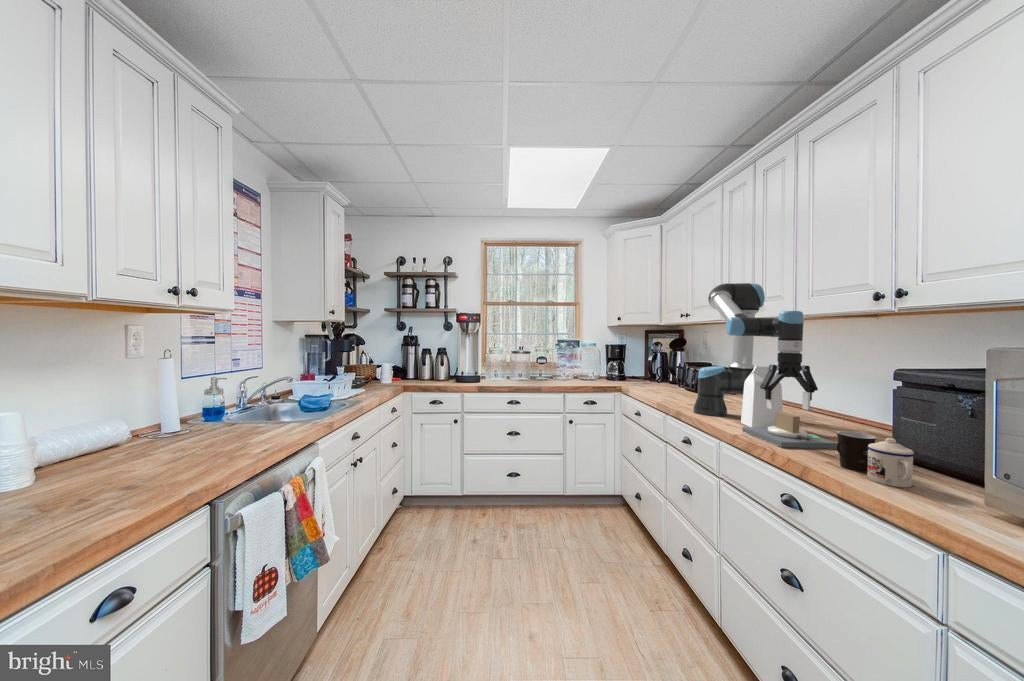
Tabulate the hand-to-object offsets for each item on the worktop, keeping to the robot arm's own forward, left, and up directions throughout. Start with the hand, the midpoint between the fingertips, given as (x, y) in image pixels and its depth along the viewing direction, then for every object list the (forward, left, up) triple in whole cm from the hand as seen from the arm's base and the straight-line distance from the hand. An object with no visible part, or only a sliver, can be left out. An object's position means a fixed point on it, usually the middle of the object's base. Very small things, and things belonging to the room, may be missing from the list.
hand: (788, 409), depth 146 cm
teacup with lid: (+43, -3, -12) cm, 44 cm away
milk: (-22, +5, -12) cm, 26 cm away
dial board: (0, 0, -12) cm, 12 cm away
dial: (+2, 0, -10) cm, 10 cm away
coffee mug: (+31, -4, -12) cm, 33 cm away
